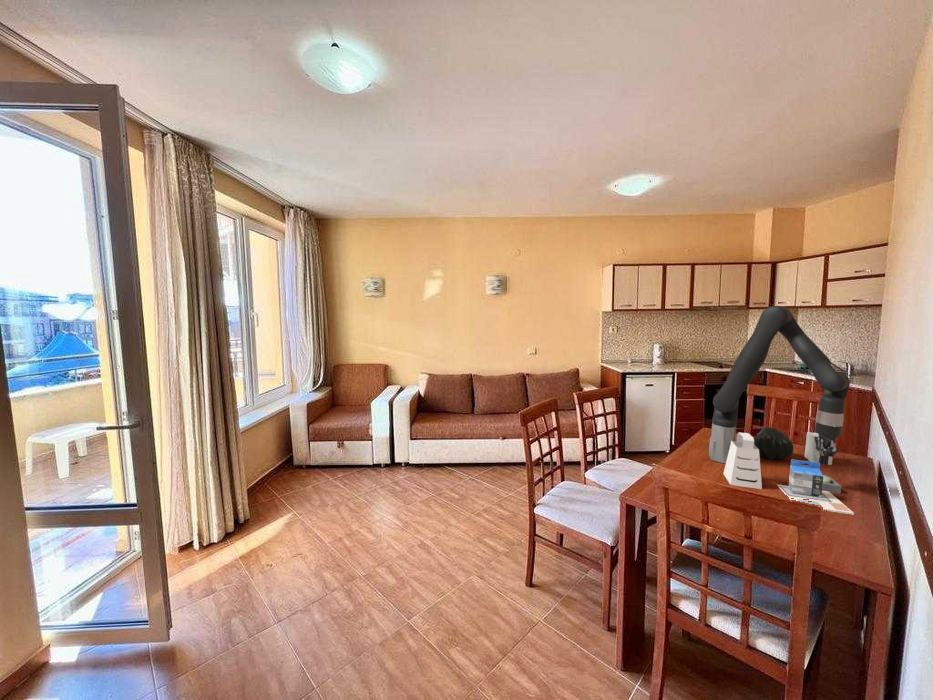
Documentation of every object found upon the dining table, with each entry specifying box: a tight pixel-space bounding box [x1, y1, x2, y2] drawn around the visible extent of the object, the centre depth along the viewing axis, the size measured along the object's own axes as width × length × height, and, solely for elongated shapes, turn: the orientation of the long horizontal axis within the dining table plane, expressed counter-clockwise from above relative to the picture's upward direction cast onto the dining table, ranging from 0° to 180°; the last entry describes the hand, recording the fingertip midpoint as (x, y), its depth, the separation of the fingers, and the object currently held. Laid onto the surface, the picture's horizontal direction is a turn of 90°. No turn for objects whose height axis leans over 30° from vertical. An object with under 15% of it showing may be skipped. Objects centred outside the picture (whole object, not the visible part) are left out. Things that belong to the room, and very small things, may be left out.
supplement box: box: [804, 431, 834, 466], centre depth 168 cm, size 7×7×13 cm
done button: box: [822, 473, 832, 483], centre depth 145 cm, size 4×4×4 cm
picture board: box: [777, 484, 855, 516], centre depth 136 cm, size 16×16×1 cm
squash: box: [753, 426, 794, 460], centre depth 174 cm, size 14×15×15 cm
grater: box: [723, 432, 763, 490], centre depth 150 cm, size 10×10×20 cm
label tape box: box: [788, 459, 824, 497], centre depth 139 cm, size 9×4×12 cm, turn 65°
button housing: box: [822, 476, 842, 494], centre depth 145 cm, size 8×8×3 cm
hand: (823, 464), depth 144 cm, fingers closed
